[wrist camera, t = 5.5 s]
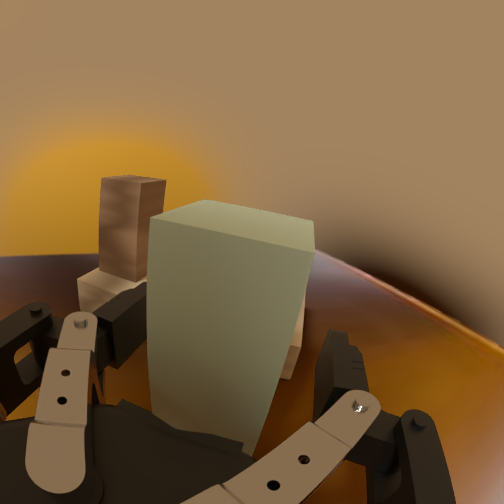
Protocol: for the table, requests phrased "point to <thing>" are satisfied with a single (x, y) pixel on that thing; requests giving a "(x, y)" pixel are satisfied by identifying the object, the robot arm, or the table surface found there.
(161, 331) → the pillar
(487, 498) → the table surface
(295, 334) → the base slab
